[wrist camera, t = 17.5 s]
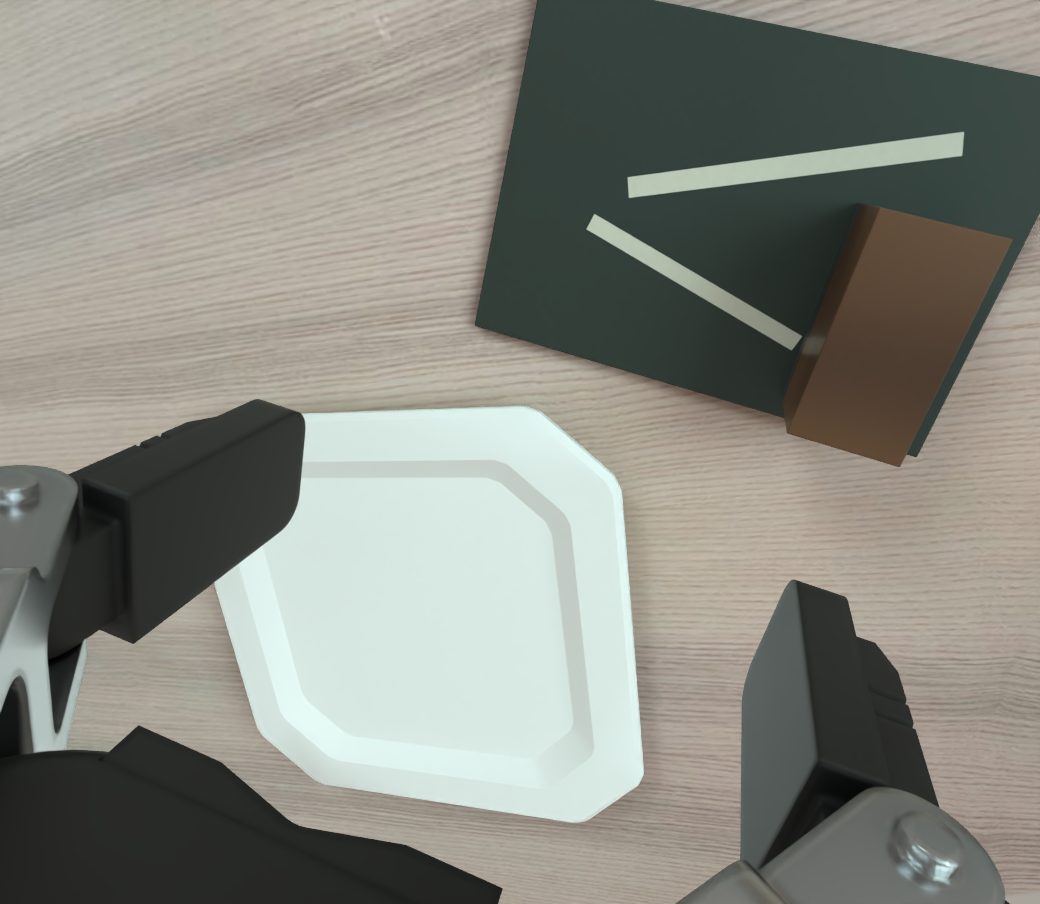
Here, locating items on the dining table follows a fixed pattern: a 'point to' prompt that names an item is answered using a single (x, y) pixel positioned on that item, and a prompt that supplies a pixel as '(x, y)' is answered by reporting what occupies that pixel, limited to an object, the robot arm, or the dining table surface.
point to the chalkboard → (732, 185)
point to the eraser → (887, 330)
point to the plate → (447, 614)
